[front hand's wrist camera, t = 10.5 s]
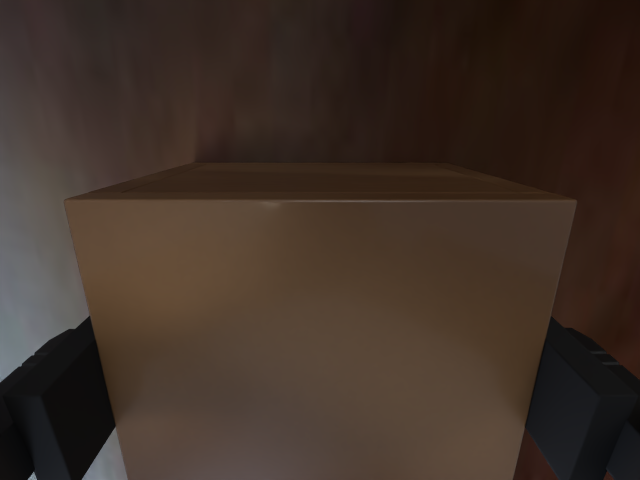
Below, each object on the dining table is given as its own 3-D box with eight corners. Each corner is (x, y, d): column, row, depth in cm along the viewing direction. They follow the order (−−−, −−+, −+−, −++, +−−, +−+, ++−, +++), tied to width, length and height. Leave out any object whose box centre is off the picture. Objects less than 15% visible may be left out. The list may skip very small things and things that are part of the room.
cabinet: (411, 489, 21) (463, 695, 13) (228, 488, 21) (176, 694, 13) (448, 162, 15) (579, 199, 7) (192, 162, 15) (61, 199, 7)
